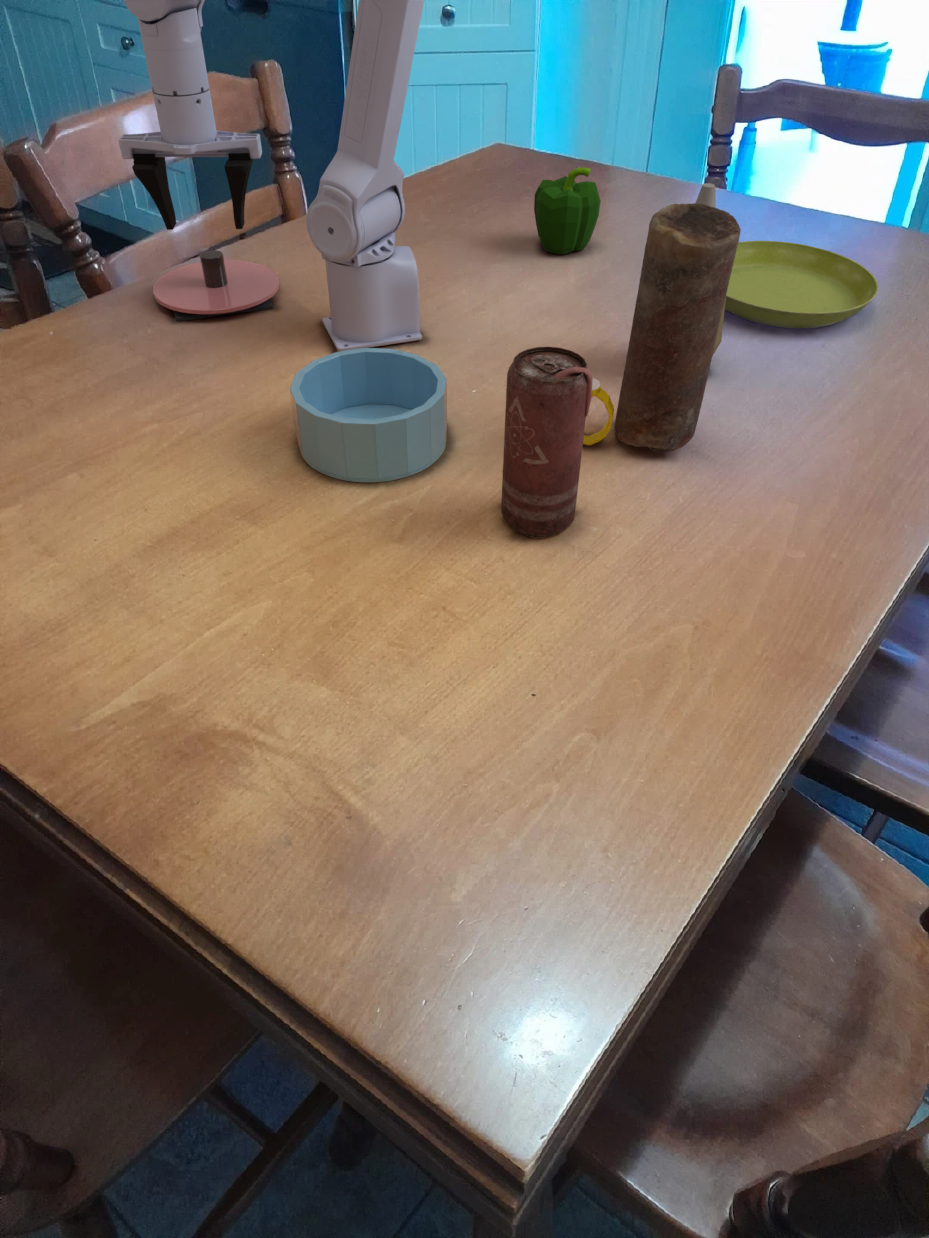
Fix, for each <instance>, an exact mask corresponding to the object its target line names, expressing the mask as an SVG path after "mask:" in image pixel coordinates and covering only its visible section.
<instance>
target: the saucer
mask: <svg viewBox="0 0 929 1238" xmlns="http://www.w3.org/2000/svg"><path fill="white" fill-rule="evenodd" d="M878 292H879V283H878V281H877V279H876V277H875V276H874V274H873V273H871V272H870V271H869V270H868V269H867V268H866V267H864V266H863V265H862V264H861V263H859V262H857V261H855V260H853V259H851V258H849V257H846V256H844V255H841V254H839V253H837V252H833V251H831V250H827V249H824V248H820V247H815V246H811V245H807V244H801V243H795V242H788V241H779V240H778V241H777V240H746V241H739V242H738V246H737V249H736V254H735V259H734V263H733V267H732V272H731V276H730V280H729V285H728V289H727V294H726V301H725V311H727V312H729V313H730V314H732V315H735V316H737V317H739V318H741V319H743V320H747V321H750V322H752V323H756V324H760V325H764V326H765V325H766V326H769V327H776V328H783V329H816V328H823V327H828V326H831V325H834V324H837V323H840V322H842V321H844V320H846V319H848V318H850V317H853V316H854V315H856V314H857V313H859V312H861V310H863V309H864V308H866V306H868V305H869V304H870V303H871V302H872V301H873V300H874V299H876V297H877V295H878Z"/></svg>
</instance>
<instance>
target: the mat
mask: <svg viewBox="0 0 929 1238" xmlns="http://www.w3.org/2000/svg"><path fill="white" fill-rule="evenodd" d="M271 309H272V310H273V309H274V304H273V303H272V300H271V298H270V299H268V300H267V301H265V302H263V303H261V304H258V305H256V306H253V307H250V308H247V309H244V310H239V311H235V312H229V313H220V314H190V313H183V312H179V311H175V310H173V314H174V318H175V320H176V322H184V321H190V320H196V319H204V318H205V319H206V318H212V317H219V316H226V315H227V316H228V315H234V314H235V315H236V314H241V313H242V314H243V313H249V312H256V311H263V310H271Z"/></svg>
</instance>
